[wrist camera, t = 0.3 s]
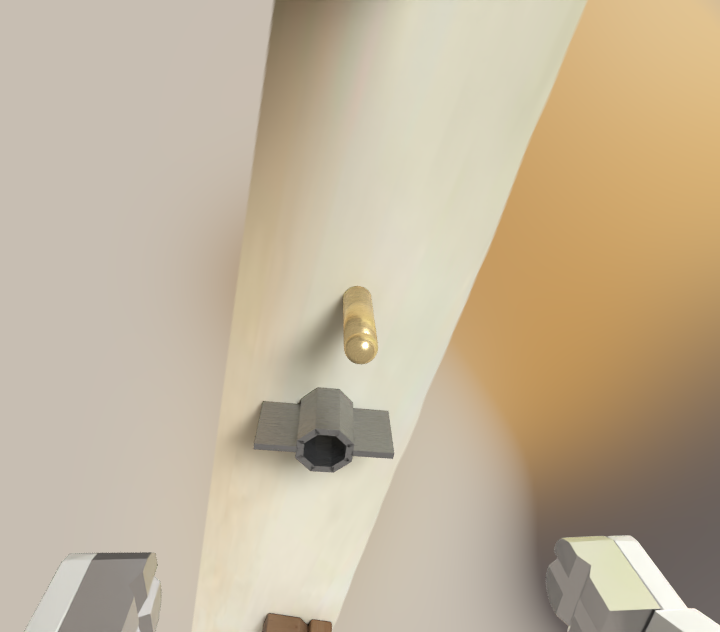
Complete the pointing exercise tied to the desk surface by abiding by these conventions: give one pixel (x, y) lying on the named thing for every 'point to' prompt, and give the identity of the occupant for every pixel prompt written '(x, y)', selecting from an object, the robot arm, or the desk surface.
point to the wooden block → (294, 624)
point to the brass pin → (359, 326)
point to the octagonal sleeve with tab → (324, 430)
